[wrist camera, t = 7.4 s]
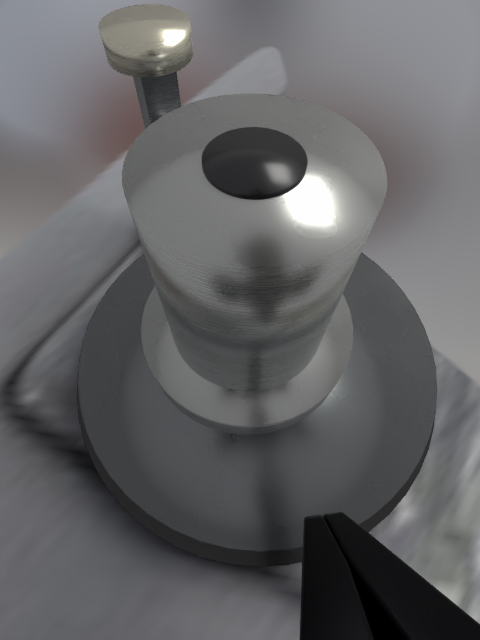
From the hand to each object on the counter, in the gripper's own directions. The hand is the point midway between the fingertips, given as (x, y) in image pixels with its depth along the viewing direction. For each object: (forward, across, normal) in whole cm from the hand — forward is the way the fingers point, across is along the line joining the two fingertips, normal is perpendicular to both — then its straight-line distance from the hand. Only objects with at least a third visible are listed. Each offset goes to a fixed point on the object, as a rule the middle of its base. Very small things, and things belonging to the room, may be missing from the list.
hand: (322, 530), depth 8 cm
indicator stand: (+15, +3, -6) cm, 17 cm away
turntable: (+10, 0, 0) cm, 10 cm away
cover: (+9, 0, -2) cm, 9 cm away
